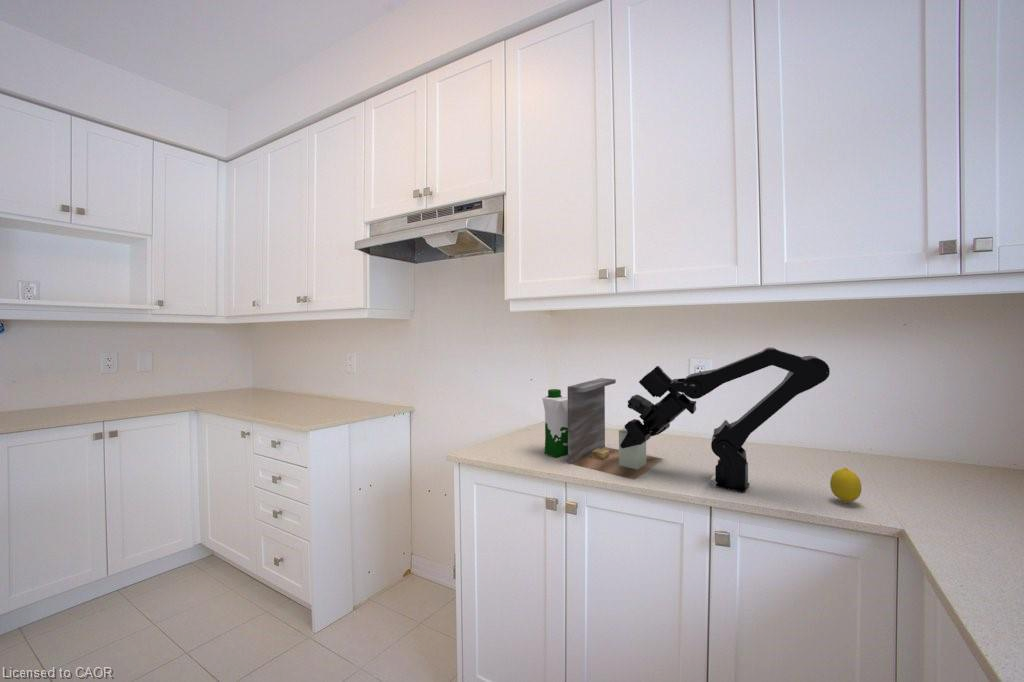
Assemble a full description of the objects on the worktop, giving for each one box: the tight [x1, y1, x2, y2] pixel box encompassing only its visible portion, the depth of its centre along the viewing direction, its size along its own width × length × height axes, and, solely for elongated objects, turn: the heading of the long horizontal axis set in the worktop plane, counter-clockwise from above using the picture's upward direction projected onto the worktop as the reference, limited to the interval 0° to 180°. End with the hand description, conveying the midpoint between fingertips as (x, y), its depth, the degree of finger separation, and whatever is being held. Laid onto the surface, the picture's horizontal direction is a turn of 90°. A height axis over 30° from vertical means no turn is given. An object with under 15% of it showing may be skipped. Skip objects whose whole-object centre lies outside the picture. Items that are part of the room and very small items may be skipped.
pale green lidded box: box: [618, 427, 647, 470], centre depth 119 cm, size 6×6×10 cm
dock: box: [567, 377, 663, 480], centre depth 122 cm, size 20×20×23 cm
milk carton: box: [542, 388, 568, 459], centre depth 132 cm, size 9×9×20 cm
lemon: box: [829, 467, 862, 504], centre depth 95 cm, size 6×6×8 cm
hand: (627, 443), depth 120 cm, fingers open, 8 cm apart
